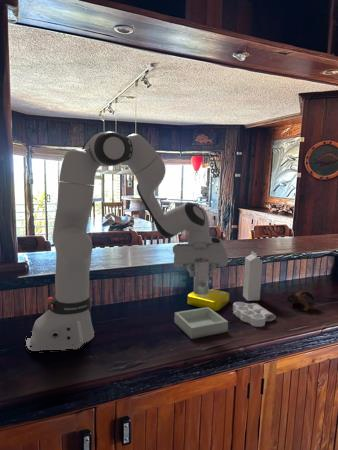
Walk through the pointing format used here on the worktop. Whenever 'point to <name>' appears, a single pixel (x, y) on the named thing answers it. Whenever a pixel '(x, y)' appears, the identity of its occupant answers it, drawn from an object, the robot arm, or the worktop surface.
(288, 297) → the turtle figurine
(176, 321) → the sage bin
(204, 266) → the gray flashlight
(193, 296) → the element tile
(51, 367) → the worktop surface
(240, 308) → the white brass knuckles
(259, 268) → the milk
